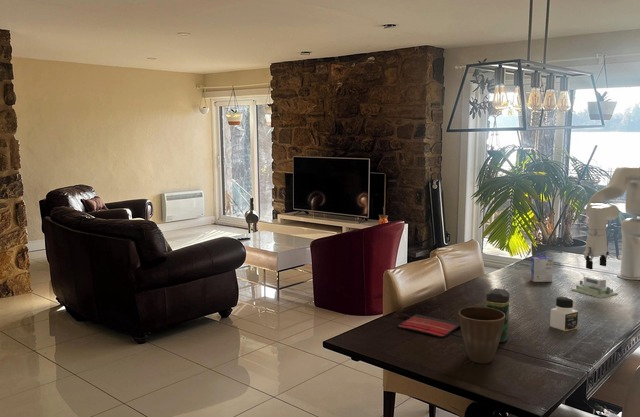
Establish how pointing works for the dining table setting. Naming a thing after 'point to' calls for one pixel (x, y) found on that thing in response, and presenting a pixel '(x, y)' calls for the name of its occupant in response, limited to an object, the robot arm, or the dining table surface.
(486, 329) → the plant pot
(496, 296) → the coffee jar
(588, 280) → the block
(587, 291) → the tray
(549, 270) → the ink cartridge box
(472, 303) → the dining table surface
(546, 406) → the dining table surface
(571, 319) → the medicine bottle
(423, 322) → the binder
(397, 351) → the dining table surface
